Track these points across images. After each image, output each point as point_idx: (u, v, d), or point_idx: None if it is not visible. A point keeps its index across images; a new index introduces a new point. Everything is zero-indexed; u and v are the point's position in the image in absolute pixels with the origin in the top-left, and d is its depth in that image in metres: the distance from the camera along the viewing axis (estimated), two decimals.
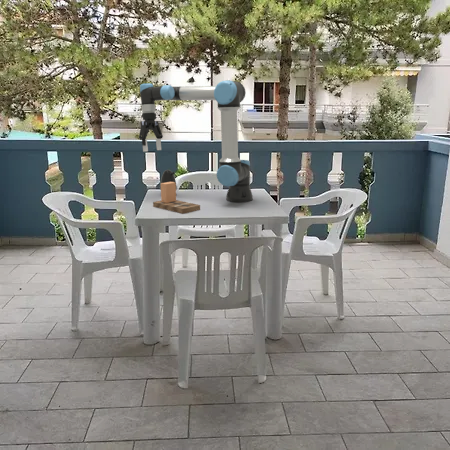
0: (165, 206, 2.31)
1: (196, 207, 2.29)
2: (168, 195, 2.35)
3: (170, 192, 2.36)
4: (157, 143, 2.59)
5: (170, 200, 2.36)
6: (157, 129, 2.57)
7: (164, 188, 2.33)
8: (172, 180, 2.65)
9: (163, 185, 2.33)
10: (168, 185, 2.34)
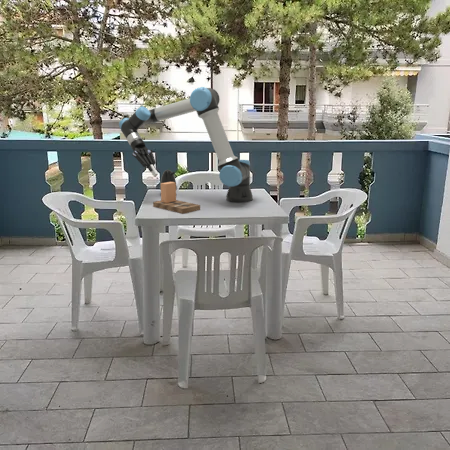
0: (165, 206, 2.31)
1: (196, 207, 2.29)
2: (168, 195, 2.35)
3: (170, 192, 2.36)
4: None
5: (170, 200, 2.36)
6: (150, 157, 2.47)
7: (164, 188, 2.33)
8: (172, 180, 2.65)
9: (163, 185, 2.33)
10: (168, 185, 2.34)
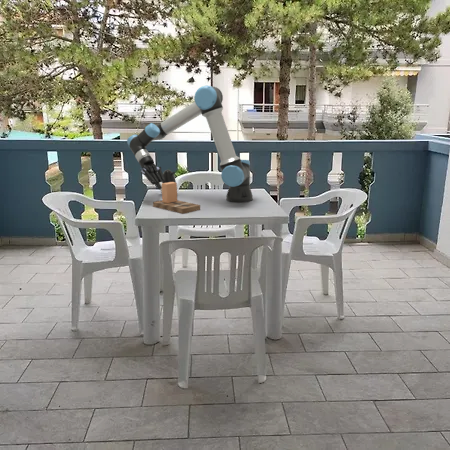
0: (165, 206, 2.31)
1: (196, 207, 2.29)
2: (169, 195, 2.34)
3: (171, 192, 2.35)
4: None
5: (171, 200, 2.36)
6: (159, 174, 2.45)
7: (165, 188, 2.33)
8: (172, 180, 2.65)
9: (164, 185, 2.33)
10: (169, 185, 2.33)
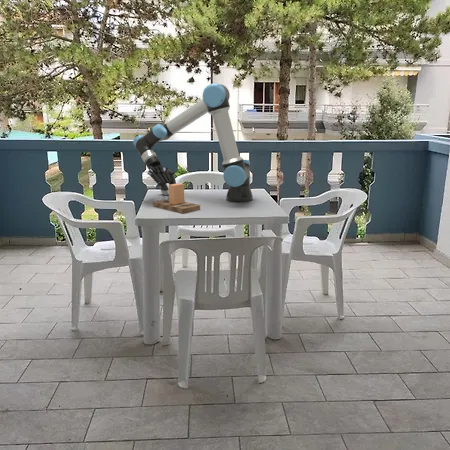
0: (165, 206, 2.31)
1: (196, 207, 2.29)
2: (177, 197, 2.31)
3: (178, 194, 2.31)
4: None
5: (178, 202, 2.32)
6: (166, 175, 2.41)
7: (172, 190, 2.29)
8: (172, 180, 2.65)
9: (171, 187, 2.29)
10: (176, 187, 2.29)
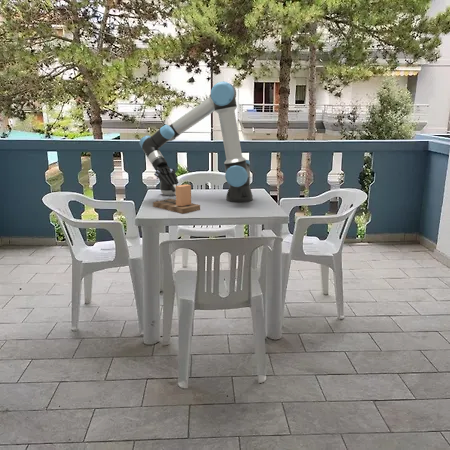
0: (165, 206, 2.31)
1: (196, 207, 2.29)
2: (183, 198, 2.27)
3: (185, 195, 2.28)
4: None
5: (185, 203, 2.29)
6: (173, 176, 2.37)
7: (179, 191, 2.25)
8: None
9: (178, 188, 2.25)
10: (183, 188, 2.26)
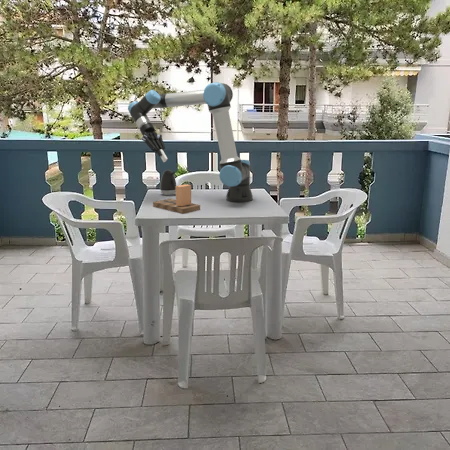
0: (165, 206, 2.31)
1: (196, 207, 2.29)
2: (183, 198, 2.27)
3: (185, 195, 2.28)
4: None
5: (185, 203, 2.29)
6: (160, 141, 2.44)
7: (179, 191, 2.25)
8: (172, 180, 2.65)
9: (178, 188, 2.25)
10: (183, 188, 2.26)
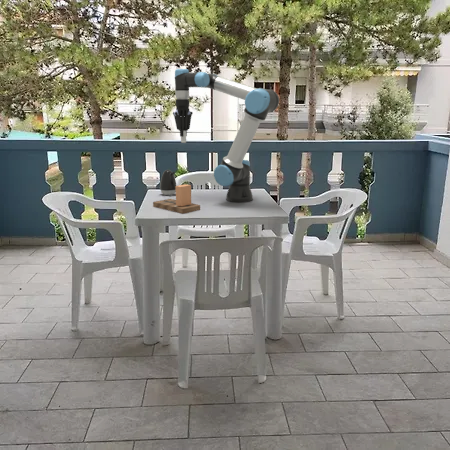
0: (165, 206, 2.31)
1: (196, 207, 2.29)
2: (183, 198, 2.27)
3: (185, 195, 2.28)
4: None
5: (185, 203, 2.29)
6: (187, 119, 2.49)
7: (179, 191, 2.25)
8: (172, 180, 2.65)
9: (178, 188, 2.25)
10: (183, 188, 2.26)
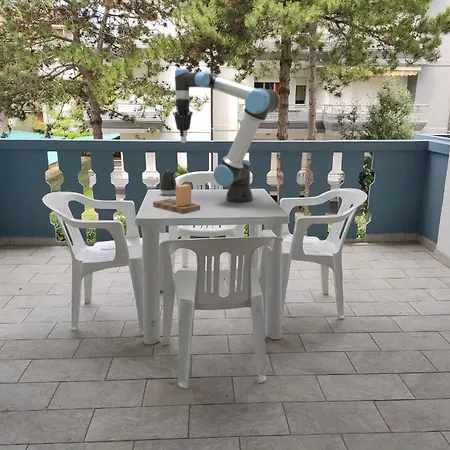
0: (165, 206, 2.31)
1: (196, 207, 2.29)
2: (183, 198, 2.27)
3: (185, 195, 2.28)
4: None
5: (185, 203, 2.29)
6: (188, 119, 2.49)
7: (179, 191, 2.25)
8: (172, 180, 2.65)
9: (178, 188, 2.25)
10: (183, 188, 2.26)
